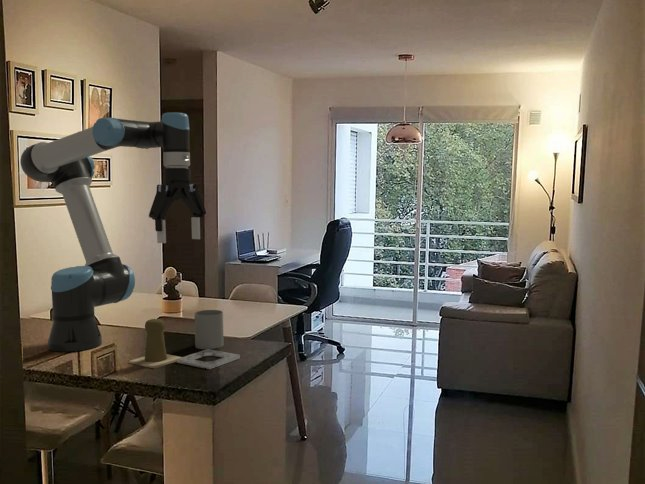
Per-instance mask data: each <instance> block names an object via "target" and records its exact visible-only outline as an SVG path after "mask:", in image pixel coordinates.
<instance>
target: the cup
mask: <svg viewBox="0 0 645 484" xmlns="http://www.w3.org/2000/svg"><path fill="white" fill-rule="evenodd" d="M193 314H194V340H195V341H194V343H195V345H194V347H195V348H196V349H199V350H206V349H211V350H215V349H219V348H222V347H224V342H225V341H224V338H225V337H224V312H223V310H218V309H202V310H199V311H195V312H194V313H193Z"/></svg>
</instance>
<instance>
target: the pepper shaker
mask: <svg viewBox="0 0 645 484" xmlns="http://www.w3.org/2000/svg"><path fill="white" fill-rule="evenodd" d="M165 325H166V324H165V321H164V320H163V319H160V318H151V319H148V320H146V321H145V323H144V329H145V331H146V332H147V333H146V341H145V353H144V356H145V361H147V362H160V361H164V360H166V359H167V349H166V342H165V337H164V332H163V331H164V329H165Z"/></svg>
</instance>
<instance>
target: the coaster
mask: <svg viewBox="0 0 645 484" xmlns="http://www.w3.org/2000/svg"><path fill="white" fill-rule="evenodd" d="M166 354H167V353H166ZM182 357H183V356H178V355H173V354H167V359H166V360H164V361H160V362H147V361H145V355H144V356H140V357H138V358H137V357H136V358H134V359H131V360H129V361H128V363H129V364H133V365H136V366H141V367H145V368H151V369H154V370H155V369H157V368H161V367H164V366H167V365H170V364H173V363H177V359H178V358H182Z"/></svg>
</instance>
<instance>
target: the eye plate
mask: <svg viewBox="0 0 645 484" xmlns="http://www.w3.org/2000/svg"><path fill="white" fill-rule="evenodd" d="M181 357H182V358H178V359H177V361H176V363H177V364H182V365H187V366H192V367H196V368H201V369H205V368H206V370H211V369H215V368H217V367H220V366H223V365H226V364H228V363H231V362H233V361H236V360H239V359H241V355H240V354H238V353H237V354H236V353H232V352H227V351H221V350H215V349H202V350H201V351H198V352H194V353H191V354H188V355H185V356H181ZM203 357H215V358H216V357H218V358H219V359H218V358H217V360H211V361H201V360H199V359H200V358H201V359H202V358H203Z"/></svg>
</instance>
